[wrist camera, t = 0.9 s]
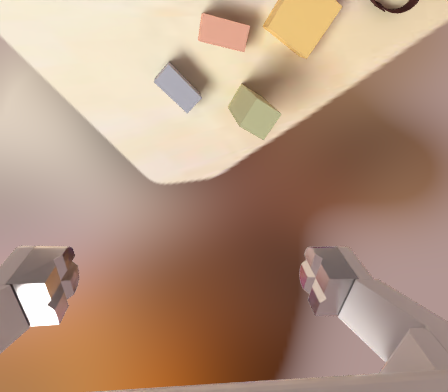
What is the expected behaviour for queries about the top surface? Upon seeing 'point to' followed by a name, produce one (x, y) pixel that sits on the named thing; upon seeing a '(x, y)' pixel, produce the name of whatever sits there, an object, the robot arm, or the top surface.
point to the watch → (412, 2)
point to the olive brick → (253, 112)
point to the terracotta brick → (223, 32)
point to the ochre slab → (301, 23)
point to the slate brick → (177, 87)
